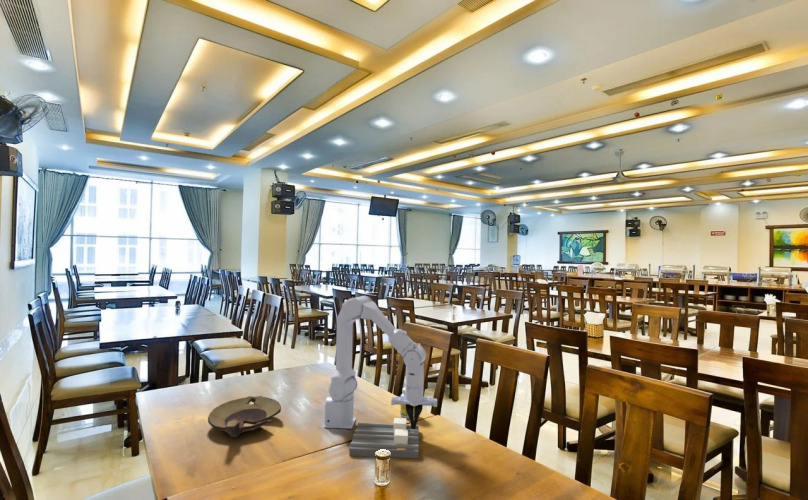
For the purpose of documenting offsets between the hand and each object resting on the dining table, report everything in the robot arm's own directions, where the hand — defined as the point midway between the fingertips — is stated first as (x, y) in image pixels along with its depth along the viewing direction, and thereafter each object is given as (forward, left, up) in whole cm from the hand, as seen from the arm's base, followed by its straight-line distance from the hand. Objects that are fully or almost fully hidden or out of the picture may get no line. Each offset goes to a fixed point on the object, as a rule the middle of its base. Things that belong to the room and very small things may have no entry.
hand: (413, 427), depth 126 cm
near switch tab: (-4, -8, -1) cm, 9 cm away
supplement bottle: (-2, +17, -3) cm, 17 cm away
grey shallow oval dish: (-57, +2, -3) cm, 57 cm away
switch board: (-8, -4, -3) cm, 10 cm away
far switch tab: (-4, 0, -1) cm, 4 cm away
